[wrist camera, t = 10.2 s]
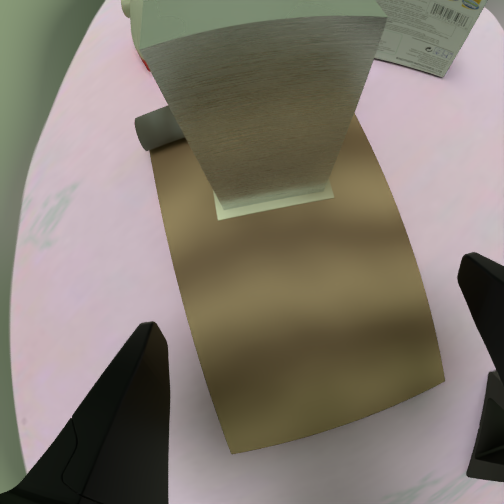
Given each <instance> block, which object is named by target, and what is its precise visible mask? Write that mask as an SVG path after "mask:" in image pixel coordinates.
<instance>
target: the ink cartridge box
mask: <svg viewBox="0 0 504 504" xmlns="http://www.w3.org/2000/svg"><path fill="white" fill-rule="evenodd" d="M375 1H376V2H377V3H378V5H379V6H380V7H381V9H382V10H383V11H384V13H385V14H386V15H387V17H388V18H387V21H386V24H385V28H384V31H383V33H382V36H381V39H380V42H379V45H378V48H377V51H376V54H375V57H374V58H377V59H381V60H385V61H389V62H393V63H397V64H401V65H404V66H408V67H411V68H414V69H418V70H421V71H425V72H428V73H431V74H434V75H437V76H439V77H444V75H445V74H446V72H447V70H448V69H449V67H450V65H451V64H452V62H453V60H454V59H455V57H456V55H457V54H458V52H459V50H460V49H461V47H462V45H463V44H464V42H465V40H466V38H467V37H468V35H469V33H470V31H471V29H472V27H473V26H474V24H475V22H476V20H477V19H478V17H479V15H480V13H481V12H482V10H483V8H484V6H485V4H486V3H487V1H488V0H375Z"/></svg>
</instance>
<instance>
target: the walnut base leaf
mask: <svg viewBox="0 0 504 504" xmlns="http://www.w3.org/2000/svg"><path fill="white" fill-rule="evenodd" d="M135 128H136V132H137V136H138V138H139V141H140V143H141V145H142V147H143V148H144V149H145V150H146V151H149V150H150V156H151V162H152V167H153V173H154V178H155V183H156V189H157V194H158V199H159V204H160V208H161V213H162V218H163V223H164V227H165V232H166V236H167V241H168V245H169V249H170V253H171V258H172V262H173V266H174V270H175V274H176V278H177V282H178V286H179V290H180V294H181V297H182V301H183V305H184V309H185V312H186V316H187V320H188V323H189V327H190V330H191V334H192V337H193V341H194V344H195V347H196V351H197V354H198V357H199V361H200V364H201V367H202V370H203V373H204V377H205V380H206V383H207V386H208V389H209V392H210V395H211V398H212V401H213V404H214V407H215V410H216V413H217V416H218V419H219V421H220V424H221V427H222V430H223V433H224V435H225V438H226V441H227V444H228V446H229V449H230V452H231V454H236V453H241V452H246V451H251V450H256V449H261V448H265V447H269V446H274V445H278V444H282V443H286V442H290V441H293V440H297V439H301V438H304V437H308V436H311V435H314V434H318V433H321V432H324V431H327V430H330V429H333V428H336V427H339V426H342V425H345V424H348V423H351V422H354V421H356V420H359V419H362V418H365V417H367V416H370V415H372V414H375V413H377V412H380V411H382V410H385V409H387V408H389V407H392V406H394V405H396V404H399V403H401V402H403V401H406V400H408V399H410V398H412V397H414V396H416V395H418V394H421V393H423V392H425V391H427V390H429V389H431V388H433V387H435V386H437V385H439V384H441V383H443V382H444V381H445V377H444V372H443V366H442V361H441V356H440V351H439V346H438V341H437V337H436V332H435V328H434V324H433V319H432V315H431V311H430V307H429V304H428V300H427V296H426V293H425V289H424V286H423V282H422V279H421V275H420V272H419V269H418V265H417V262H416V259H415V256H414V253H413V250H412V247H411V244H410V241H409V238H408V235H407V233H406V230H405V227H404V224H403V221H402V219H401V216H400V213H399V211H398V208H397V206H396V203H395V201H394V198H393V196H392V193H391V191H390V188H389V186H388V183H387V181H386V179H385V176H384V174H383V172H382V169H381V167H380V165H379V163H378V160H377V158H376V156H375V154H374V152H373V150H372V147H371V145H370V143H369V141H368V139H367V137H366V135H365V133H364V131H363V129H362V127H361V125H360V123H359V121H358V119H357V117H356V115H355V113H354V115H353V118H352V120H351V123H350V126H349V128H348V131H347V133H346V136H345V139H344V141H343V144H342V146H341V149H340V151H339V154H338V157H337V159H336V162H335V164H334V167H333V169H332V172H331V174H330V177H329V179H328V182H327V184H326V187H325V189H324V191H323V192H317V193H311V194H306V195H300V196H295V197H289V198H284V199H279V200H273V201H268V202H263V203H258V204H253V205H248V206H243V207H238V208H233V209H228V210H224V209H223V208H222V206H221V204H220V202H219V200H218V198H217V196H216V194H215V192H214V191H213V189H212V187H211V185H210V183H209V181H208V179H207V177H206V176H205V174H204V172H203V170H202V168H201V166H200V164H199V162H198V160H197V159H196V157H195V155H194V153H193V151H192V149H191V147H190V145H189V143H188V141H187V140H186V138H185V136H184V134H183V132H182V130H181V128H180V126H179V124H178V123H177V121H176V119H175V117H174V115H173V113H172V111H171V109H170V107H169V105H168V106H166V107H163V108H160V109H158V110H155V111H152V112H150V113H147V114H145V115H142V116H140V117H137V118H135Z"/></svg>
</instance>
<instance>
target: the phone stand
mask: <svg viewBox="0 0 504 504" xmlns="http://www.w3.org/2000/svg"><path fill="white" fill-rule="evenodd" d="M467 476H468V477H471V478H477V479H483V480H490V481H498V482H504V388H503V385H502V383H501V380H500V378H499V375H498V373H497V371H495V372H491V373H489V375H488V381H487V388H486V394H485V400H484V405H483V410H482V415H481V420H480V429H478V433H477V438H476V441H475V445H474V449H473V453H472V456H471V460H470V463H469V466H468V470H467Z"/></svg>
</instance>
